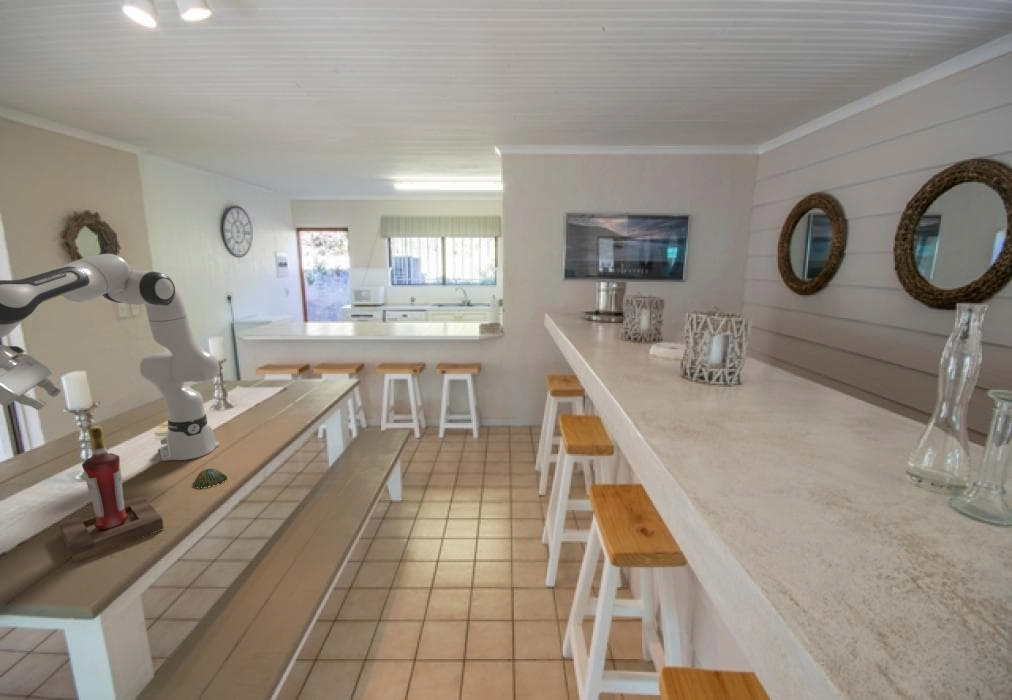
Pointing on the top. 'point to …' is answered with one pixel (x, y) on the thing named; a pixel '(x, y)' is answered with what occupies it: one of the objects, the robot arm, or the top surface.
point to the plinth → (94, 541)
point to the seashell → (209, 478)
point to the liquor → (104, 483)
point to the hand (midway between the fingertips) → (50, 400)
